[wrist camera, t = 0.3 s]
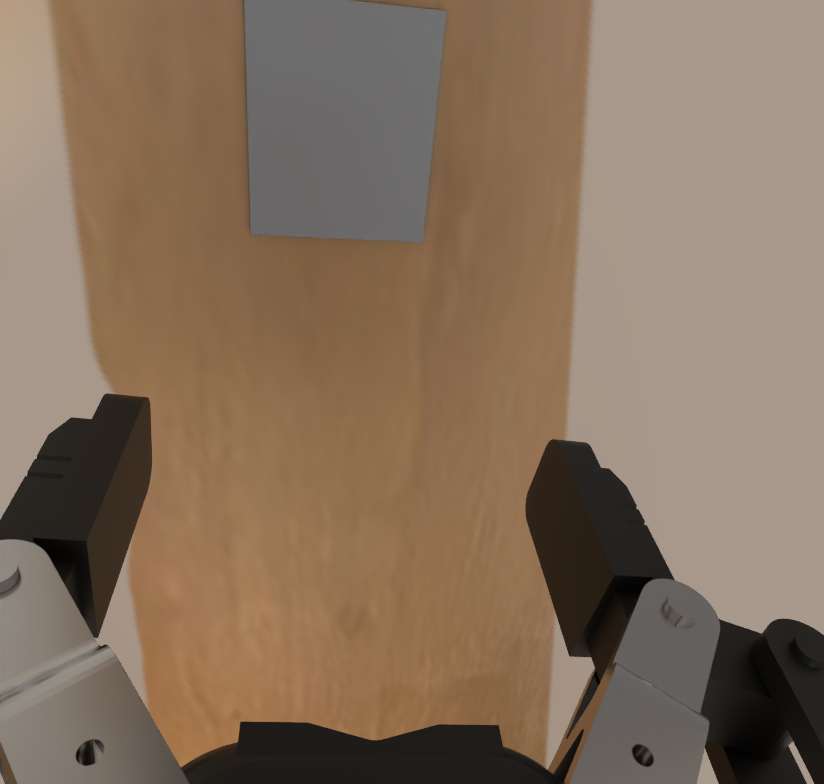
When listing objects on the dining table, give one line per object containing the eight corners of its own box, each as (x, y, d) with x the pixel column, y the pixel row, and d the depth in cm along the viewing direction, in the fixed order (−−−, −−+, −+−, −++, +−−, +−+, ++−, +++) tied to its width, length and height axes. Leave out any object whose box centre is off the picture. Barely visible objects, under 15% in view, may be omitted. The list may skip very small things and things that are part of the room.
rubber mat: (244, -12, 32) (243, -12, 32) (444, 10, 34) (446, 10, 33) (251, 231, 38) (250, 234, 37) (421, 239, 40) (423, 242, 39)
